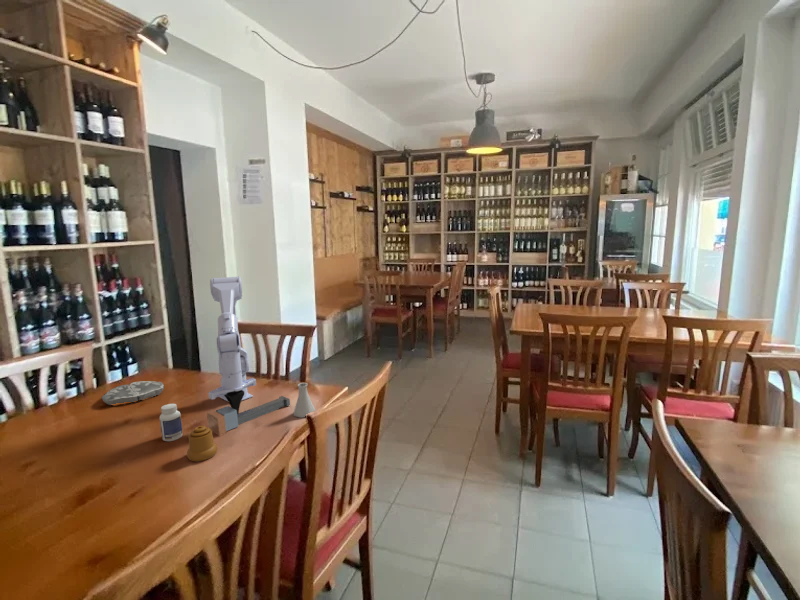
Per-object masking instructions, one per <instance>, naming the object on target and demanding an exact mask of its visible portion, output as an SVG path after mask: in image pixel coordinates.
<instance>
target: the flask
mask: <svg viewBox="0 0 800 600" xmlns="http://www.w3.org/2000/svg"><path fill="white" fill-rule="evenodd" d="M307 387H308V383H307V382H300V383H298V384H297V388H298V397H297V401H296V403H295V407H294V411H293V417H296V418H306V417H305V416H306V414H308V413H310V412H313V411H315V412H316V408H315V406H314V404H313V402H312V400H311V397H310V395H309V393H308V392H309V391H308V388H307Z"/></svg>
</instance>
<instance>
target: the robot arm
mask: <svg viewBox="0 0 800 600" xmlns="http://www.w3.org/2000/svg"><path fill="white" fill-rule="evenodd" d="M242 285H243V283H242V278H241V276H240V275H238V276H228V277H211V278H210V280H209V287H210V294H211V296H212V299H213V300H214V302H219V306H220V311H221V314H220V315H219V316H218V317H217V336H216V350H217V353H218V370H219V374H220V375H221V376H220V377H221V378H220V387H217V388H215V389H213V390H211V391H208V392H207V393H208V398H209V400H216V398H221V399H222V400H224V401H226V402H228V403H229V405H230V406H229V407H231V408H233V409H235V410H237V414H238V413H240V412H239V411H240V407H241V402H242V401H245V400H247V399H251V398H252V397H254V395H253V394H251V393H249V392H248V388H249V387H255V386H257V379H255V378H253V377H252V378H249V379H247V373H249V371H250V362H249V355H248V351H247V349H246V348H243V347H242V345H241V337H240V336H241V335H240V332H239V326H238V325H239V324H238V317H237V311H236V305H237V301H239V300H242V297H243V286H242Z"/></svg>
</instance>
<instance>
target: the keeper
mask: <svg viewBox="0 0 800 600" xmlns="http://www.w3.org/2000/svg"><path fill="white" fill-rule="evenodd" d="M215 411H216V412H218V413H219V414H221V415H223V416H224V417H225V427H226V432H228V431H230V430H233V429H235V428H238V427H239V425H238V419H237V410H235V409H233V408H231V406H229V405H227V406H224V407H222V408H219V409H216V410H215Z"/></svg>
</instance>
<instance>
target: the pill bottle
mask: <svg viewBox="0 0 800 600" xmlns="http://www.w3.org/2000/svg"><path fill="white" fill-rule="evenodd" d="M160 411H161V413H160V415H159V423H160V424H159V425H160V431H161V433H160V434H161V437H162V438H161V440H163V441H165V442H172V441H176V440H179V439H180V438H182V436H183V433H184V432H183V425H182V424H183V423H182V416H181V412H180V411H179V410H178V406H177V404H176V403H168V404H164V405H162V406H161V407H160Z"/></svg>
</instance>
